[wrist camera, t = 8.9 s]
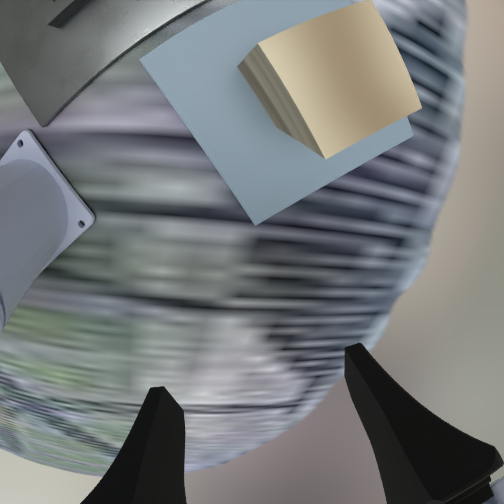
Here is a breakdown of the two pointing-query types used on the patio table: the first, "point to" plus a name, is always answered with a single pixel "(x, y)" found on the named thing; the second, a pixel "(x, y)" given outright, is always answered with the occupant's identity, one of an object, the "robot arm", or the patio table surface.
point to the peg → (332, 79)
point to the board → (251, 106)
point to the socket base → (73, 43)
